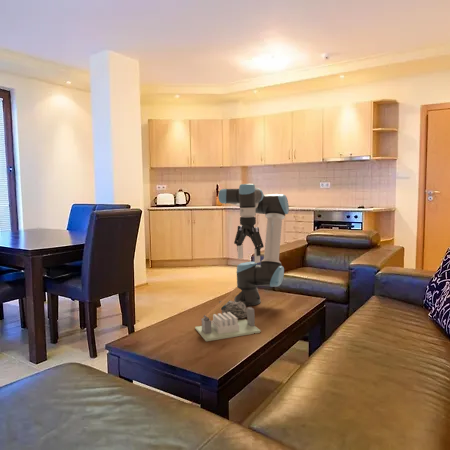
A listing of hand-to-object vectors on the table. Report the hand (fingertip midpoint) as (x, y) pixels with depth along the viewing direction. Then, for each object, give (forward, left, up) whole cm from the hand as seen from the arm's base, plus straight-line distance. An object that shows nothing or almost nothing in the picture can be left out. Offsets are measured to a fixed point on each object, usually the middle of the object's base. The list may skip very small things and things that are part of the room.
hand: (248, 260), depth 186 cm
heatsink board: (+5, -14, -31) cm, 34 cm away
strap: (+5, -15, -18) cm, 24 cm away
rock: (-12, -4, -31) cm, 33 cm away
